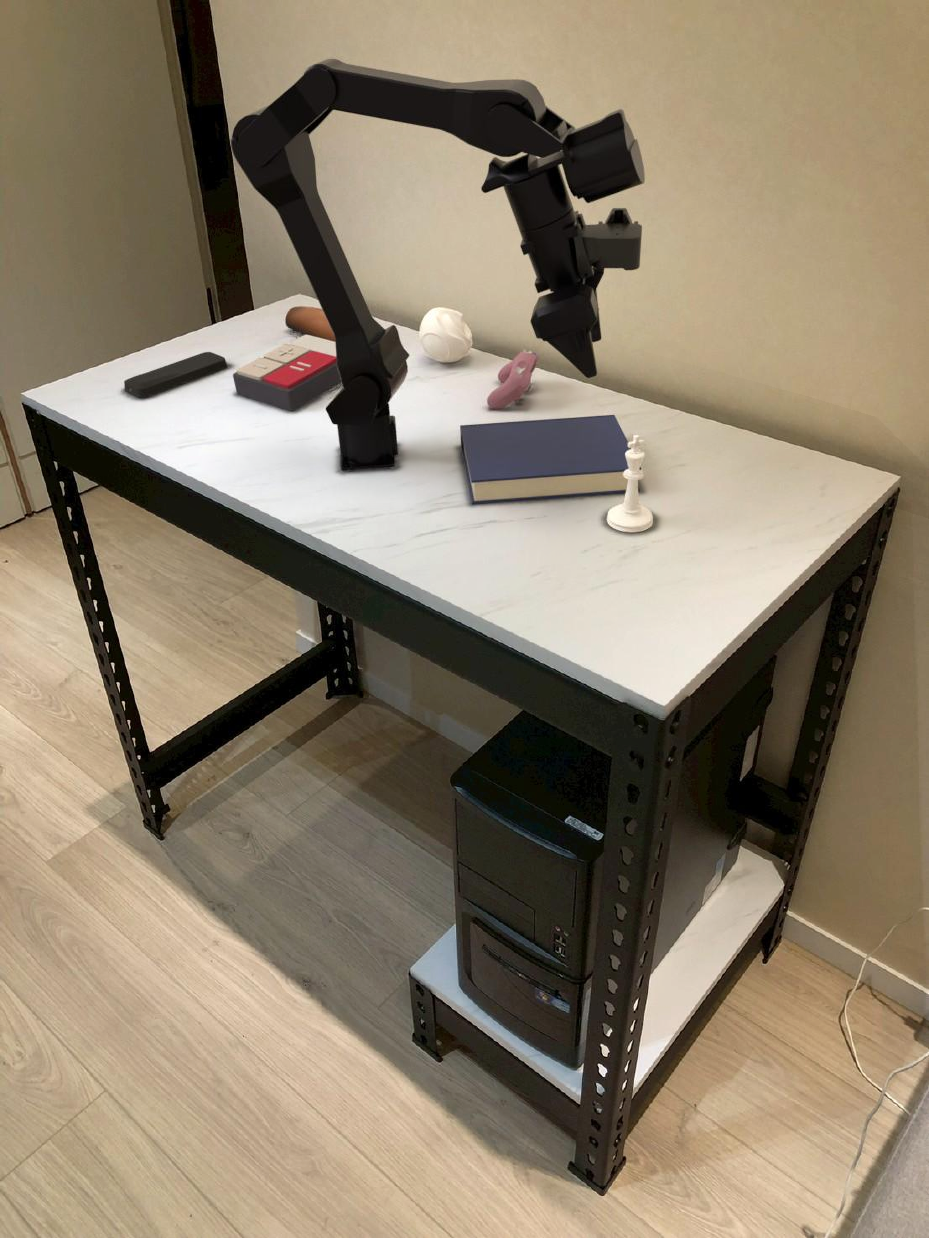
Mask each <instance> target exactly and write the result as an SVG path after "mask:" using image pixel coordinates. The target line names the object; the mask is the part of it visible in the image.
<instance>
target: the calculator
mask: <svg viewBox="0 0 929 1238" xmlns="http://www.w3.org/2000/svg"><path fill="white" fill-rule="evenodd" d="M232 377H233V383H234V387H235V391H236V394H237V395H240V396H243V397H245V398H248V399H252V400H255V401H258V402H262V403H264V404H268V405H271V406H274V407H277V408H280V409H283V410H287V411H290V412H294V411H296V410H297V409H299V408H302V407H303V406H305V405H306V404H308V403H310V402H311V401H313V400H315V399H316V398H318V397H320V396H321V395H323V394H325V393H327V392H329V390H331V389H333V388H335V387H337V386H338V385H340V384H342V383H341V379H340V376H339V372H338V369H337V359H336V344H335V342H333V341H330V340H326V339H322V338H318V337H314V336H310V335H306V334H303V335H302V336H300V337H298V338H296V339H294V340H292V341H290V342H289V343H284V344H282V345H281V346H278V347H276V348H274V349H273V350H271V351H269V352H267V353H265V354H263V357H257V358H256V359H254V360H252V361H250V362H248V363H246V364H244V365H242V366H241V367H239V368H237V369H236V372H234V373H233V374H232Z"/></svg>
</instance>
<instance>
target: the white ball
mask: <svg viewBox="0 0 929 1238" xmlns="http://www.w3.org/2000/svg"><path fill="white" fill-rule="evenodd" d="M418 332H419V333H418V334H419V341H420V345H421V347H422V350H423V351H424V353H425V354H426V355H427V356H428V357H429V358H431V359H432V360H434V361H436V362H439V363H445V364H448V363H456V362H458V361H460V360H461V359H463V358H465V357H466V356H467V355H468V354H469V353H470V350H471V348H472V347H473V335H472V334H473V333H472V329H470V328H469V326H468V325H467V323H466V321H464V320H463V312H460V311H457V310H455V309H451V308H448V307H447V308H446V307H434V308H431V309H430V310H429V311H428V312H426V314H425V315H424V317H423V318H422V320H421V322H420V325H419V331H418Z"/></svg>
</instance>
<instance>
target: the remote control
mask: <svg viewBox="0 0 929 1238" xmlns="http://www.w3.org/2000/svg"><path fill="white" fill-rule="evenodd" d="M227 367H228V362H227V360H226V358H225V357H224V356H222V355H220V354H217V353H214V352H212V351H203V352H201V353H198V354H195V355H192V356H189V357H187V358H184V359H181V360H178V361H175V362H171V363H170V364H167V365H164V366H161V367H159V368H155V369H152V370H150V371H147V372H144V373H141V374H137V375H134V376H132V377H130V378H127V379H125V380H124V381H123V382H124V385H123V386H124V392H127V393H128V394H130V395H132V396H135V398H139V399H143V398H147V397H150V396H153V395H157V394H158V393H162V392H163V391H164V392H165V391H166V390H169V389H173V388H175V387H177V386H180V385H183V384H186V383H188V382H191V381H194V380H197V379H199V378H202V377H204V376H207V375H210V374H213V373H215V372H218V371H221V370H224V369H226V368H227Z"/></svg>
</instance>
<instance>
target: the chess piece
mask: <svg viewBox="0 0 929 1238" xmlns="http://www.w3.org/2000/svg"><path fill="white" fill-rule="evenodd" d="M644 445H645V440H644V439H642V438H641V439H640V435H638V434H635V435H633V438H632V441H628V447H629V448H631V449H630V450H628V451H627V452H626V453H625V457H626V460H627V463H628V467H629V469H627V470H625V471H624V473H623V476H624V477H625V478H626V479H628V484H627V490H626V493H624V500H623V503H621V504H617V505H615V506H613V507H611V508H610V509H609V511H608V512H607V517H606V522H607V524H608V525H609V526H610V527H611V528H613V530H617V531H619V532H624V533H640V532H643V531H647V530H648V529H650V528H651V527H652V526H653V524H654V519H653V518H654V517H653V512H652V511H651V510H650V509H648V508H647V507H645V506H644V505H641V504H640V500H639V492H638V487H639V480H642V479H643V478H644V477H645V475H644V472H643V471H642V469H641V470H639V468H640V466H641V467H642V463H643V461H644V459H645V456H646V453H645V452H644V451H643V450H641V449H639V447H641V446H644Z"/></svg>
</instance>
